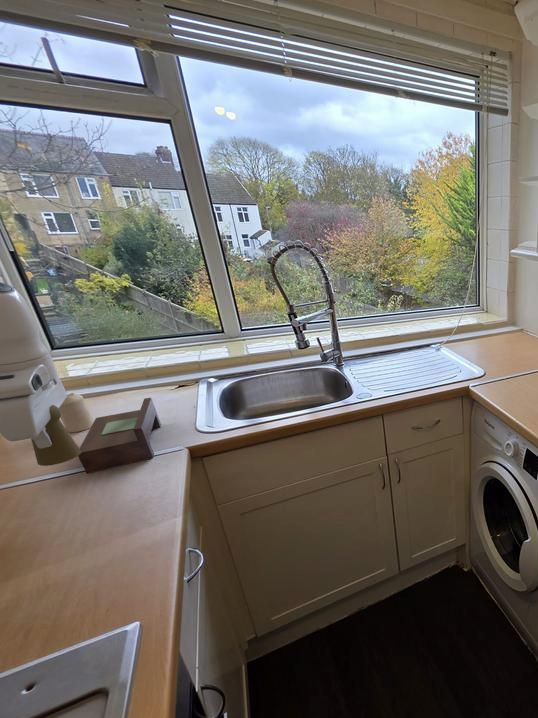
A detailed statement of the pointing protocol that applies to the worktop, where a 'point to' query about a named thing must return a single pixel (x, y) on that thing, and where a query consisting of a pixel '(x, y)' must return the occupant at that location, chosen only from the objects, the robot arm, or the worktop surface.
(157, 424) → the brown block
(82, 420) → the candle
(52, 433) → the cork
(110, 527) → the worktop surface
